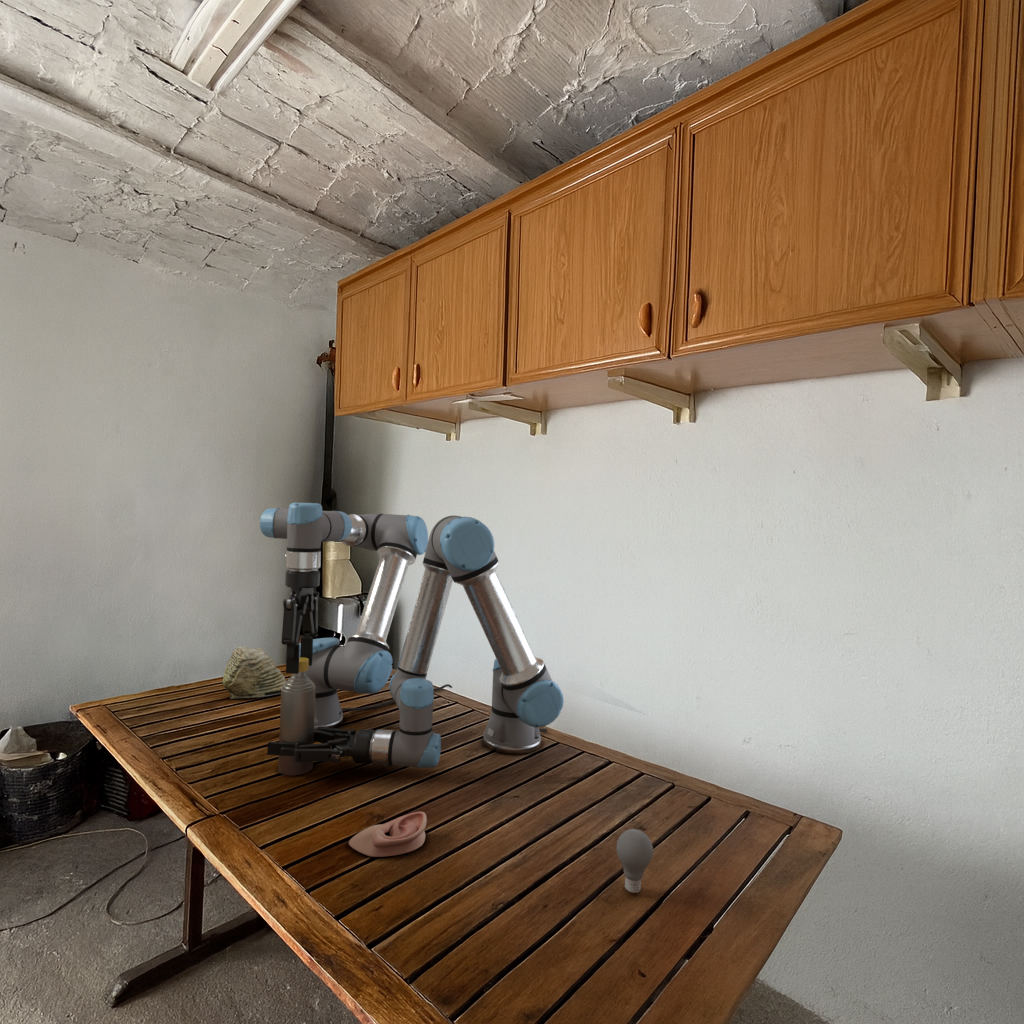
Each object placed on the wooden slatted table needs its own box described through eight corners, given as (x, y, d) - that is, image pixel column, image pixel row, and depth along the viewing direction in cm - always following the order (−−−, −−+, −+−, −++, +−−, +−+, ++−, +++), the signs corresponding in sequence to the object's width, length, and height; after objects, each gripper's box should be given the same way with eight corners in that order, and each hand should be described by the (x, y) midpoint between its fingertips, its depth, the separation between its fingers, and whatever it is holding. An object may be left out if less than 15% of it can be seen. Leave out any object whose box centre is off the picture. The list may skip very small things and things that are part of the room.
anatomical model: (341, 830, 113) (368, 800, 124) (340, 851, 113) (367, 820, 124) (411, 841, 110) (433, 810, 122) (411, 863, 111) (432, 830, 122)
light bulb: (610, 879, 108) (613, 822, 108) (644, 879, 109) (647, 822, 109) (619, 902, 102) (622, 840, 102) (655, 901, 103) (658, 840, 103)
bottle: (278, 763, 149) (282, 659, 149) (312, 760, 152) (316, 657, 151) (277, 777, 142) (281, 667, 142) (313, 773, 145) (317, 666, 144)
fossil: (218, 695, 195) (220, 647, 195) (278, 685, 208) (279, 640, 207) (228, 703, 189) (230, 653, 188) (289, 692, 201) (290, 645, 201)
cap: (296, 666, 149) (297, 656, 149) (312, 668, 148) (312, 658, 148) (286, 670, 145) (286, 660, 145) (301, 673, 144) (302, 662, 144)
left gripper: (305, 564, 156) (302, 657, 156) (266, 573, 137) (262, 679, 137) (335, 566, 155) (331, 659, 156) (299, 575, 136) (295, 681, 136)
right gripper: (360, 782, 136) (255, 776, 137) (383, 745, 156) (292, 740, 157) (361, 748, 136) (257, 741, 137) (384, 715, 156) (293, 710, 157)
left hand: (299, 668), depth 146 cm, fingers open, 6 cm apart
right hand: (275, 741), depth 147 cm, fingers closed on bottle, 8 cm apart
